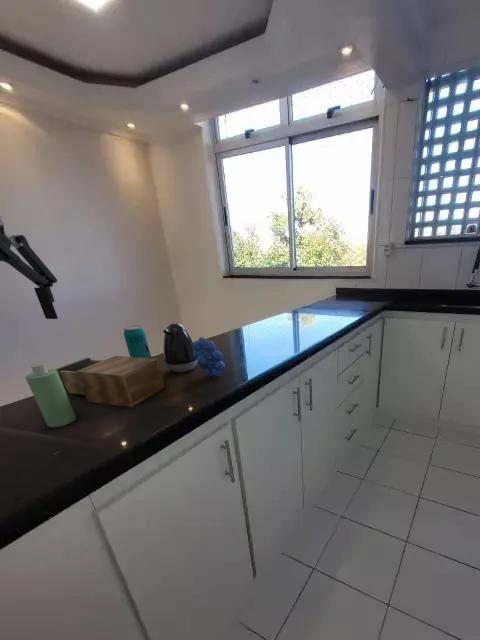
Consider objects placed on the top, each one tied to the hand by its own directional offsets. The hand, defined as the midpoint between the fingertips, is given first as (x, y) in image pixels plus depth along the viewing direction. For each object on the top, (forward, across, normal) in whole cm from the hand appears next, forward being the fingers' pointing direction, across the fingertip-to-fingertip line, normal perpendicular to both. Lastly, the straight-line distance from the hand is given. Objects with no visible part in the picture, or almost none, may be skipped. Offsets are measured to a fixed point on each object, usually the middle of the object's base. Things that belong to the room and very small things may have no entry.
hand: (19, 325), depth 63 cm
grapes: (+22, +32, -21) cm, 44 cm away
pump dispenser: (+22, +36, -9) cm, 43 cm away
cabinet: (+22, +16, -5) cm, 28 cm away
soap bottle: (+22, 0, -1) cm, 22 cm away
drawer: (+22, +16, +8) cm, 28 cm away
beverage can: (+23, +30, +1) cm, 37 cm away
